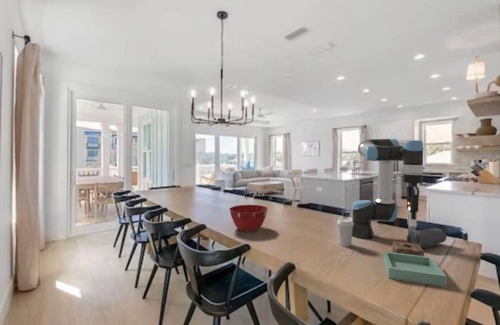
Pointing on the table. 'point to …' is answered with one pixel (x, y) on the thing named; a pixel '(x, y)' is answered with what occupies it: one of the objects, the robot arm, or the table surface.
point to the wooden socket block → (407, 248)
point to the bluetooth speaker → (428, 237)
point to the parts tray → (414, 269)
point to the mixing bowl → (248, 216)
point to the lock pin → (411, 228)
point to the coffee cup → (345, 231)
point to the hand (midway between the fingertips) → (411, 224)
